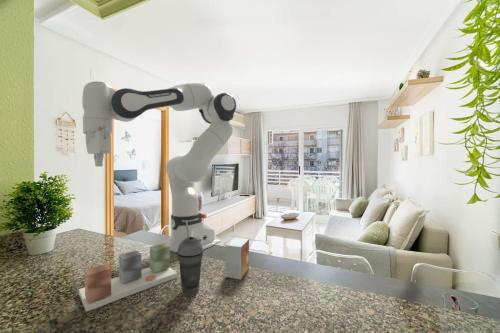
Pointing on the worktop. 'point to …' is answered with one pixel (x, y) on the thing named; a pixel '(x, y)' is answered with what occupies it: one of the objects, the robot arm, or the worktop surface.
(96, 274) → the pink tall block
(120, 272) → the grey tall block
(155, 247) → the sage green block
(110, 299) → the base
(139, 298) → the worktop surface
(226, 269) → the small box
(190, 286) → the beverage cup
